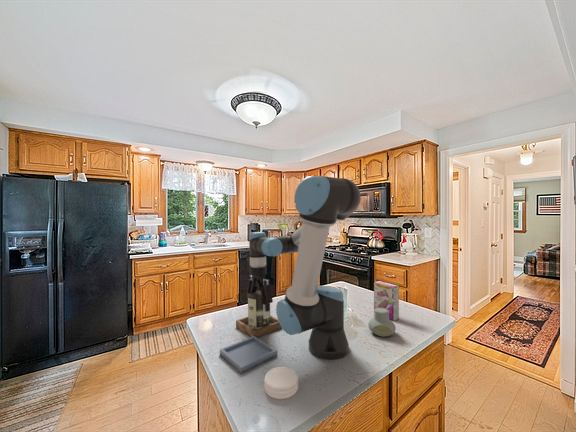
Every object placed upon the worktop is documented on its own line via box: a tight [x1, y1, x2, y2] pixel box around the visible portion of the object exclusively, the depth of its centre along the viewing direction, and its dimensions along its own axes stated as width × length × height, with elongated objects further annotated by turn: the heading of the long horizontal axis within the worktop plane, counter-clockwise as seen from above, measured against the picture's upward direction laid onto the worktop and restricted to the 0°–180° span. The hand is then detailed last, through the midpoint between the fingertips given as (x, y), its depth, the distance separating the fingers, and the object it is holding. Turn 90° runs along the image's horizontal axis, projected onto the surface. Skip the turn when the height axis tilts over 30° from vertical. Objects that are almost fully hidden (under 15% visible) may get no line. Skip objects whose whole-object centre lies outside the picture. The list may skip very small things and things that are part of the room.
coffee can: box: [246, 289, 271, 330], centre depth 113 cm, size 10×10×14 cm
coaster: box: [263, 366, 299, 400], centre depth 73 cm, size 10×10×4 cm
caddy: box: [235, 315, 282, 339], centre depth 113 cm, size 15×15×3 cm
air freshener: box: [368, 308, 396, 338], centre depth 106 cm, size 11×8×10 cm
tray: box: [219, 336, 278, 375], centre depth 90 cm, size 15×15×2 cm
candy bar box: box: [373, 280, 400, 322], centre depth 123 cm, size 11×5×16 cm, turn 34°
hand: (259, 314), depth 113 cm, fingers closed on coffee can, 10 cm apart
